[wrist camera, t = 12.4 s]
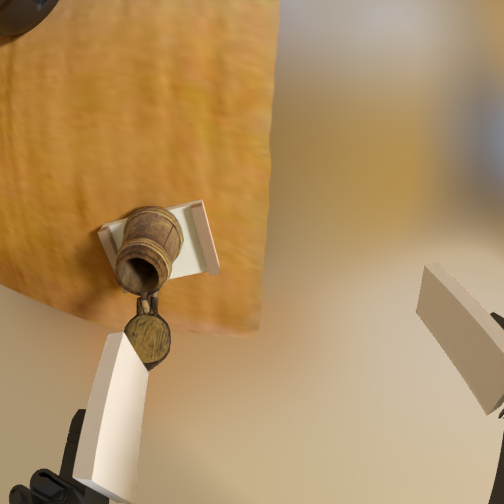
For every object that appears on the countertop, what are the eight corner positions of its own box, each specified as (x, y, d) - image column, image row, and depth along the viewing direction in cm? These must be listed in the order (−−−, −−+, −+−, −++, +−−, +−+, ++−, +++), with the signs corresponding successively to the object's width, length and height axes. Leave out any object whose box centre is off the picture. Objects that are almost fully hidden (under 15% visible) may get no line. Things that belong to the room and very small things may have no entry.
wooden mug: (137, 287, 47) (112, 372, 31) (119, 209, 40) (71, 278, 24) (190, 283, 47) (184, 372, 32) (179, 202, 41) (159, 272, 25)
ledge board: (103, 224, 42) (97, 232, 40) (202, 199, 43) (201, 206, 40) (127, 282, 48) (123, 293, 45) (219, 263, 48) (219, 273, 45)
